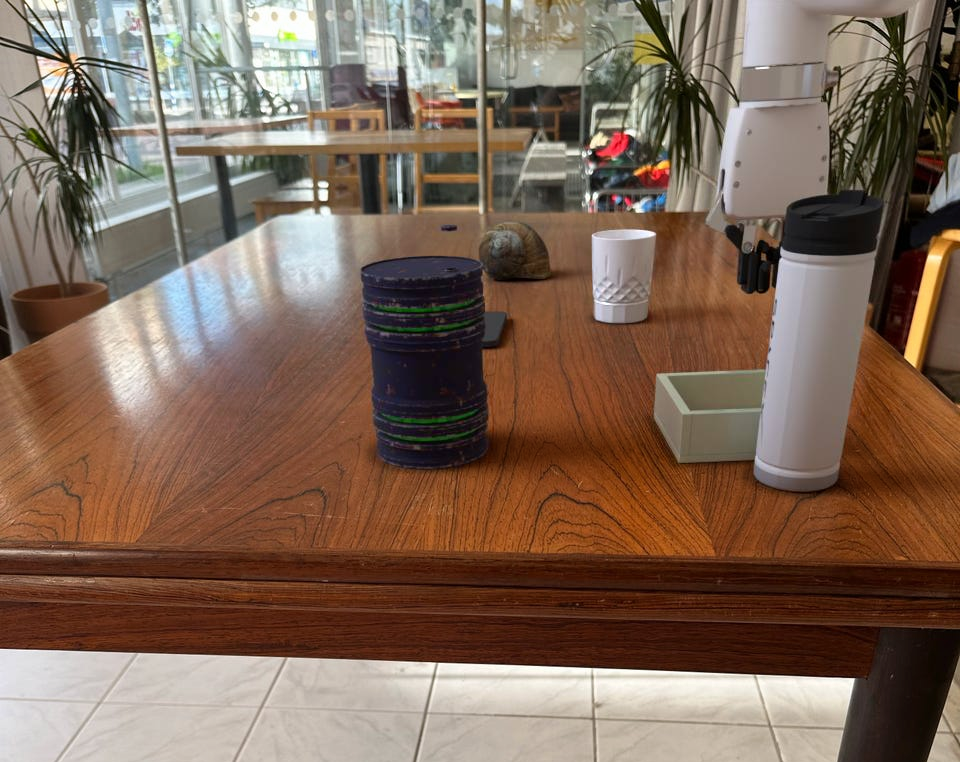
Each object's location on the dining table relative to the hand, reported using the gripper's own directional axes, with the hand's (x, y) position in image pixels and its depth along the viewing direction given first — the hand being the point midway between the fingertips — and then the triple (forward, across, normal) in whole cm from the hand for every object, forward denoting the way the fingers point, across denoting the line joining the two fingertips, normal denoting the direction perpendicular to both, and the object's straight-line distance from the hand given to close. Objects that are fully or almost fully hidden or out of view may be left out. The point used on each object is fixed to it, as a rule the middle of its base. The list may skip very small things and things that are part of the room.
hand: (763, 288), depth 99 cm
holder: (+7, +9, +24) cm, 27 cm away
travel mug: (+8, +6, +34) cm, 36 cm away
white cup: (+7, +12, -22) cm, 25 cm away
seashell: (+6, +24, -52) cm, 57 cm away
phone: (+6, +31, -16) cm, 36 cm away
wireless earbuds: (0, 0, 0) cm, 0 cm away
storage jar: (+7, +35, +24) cm, 43 cm away
